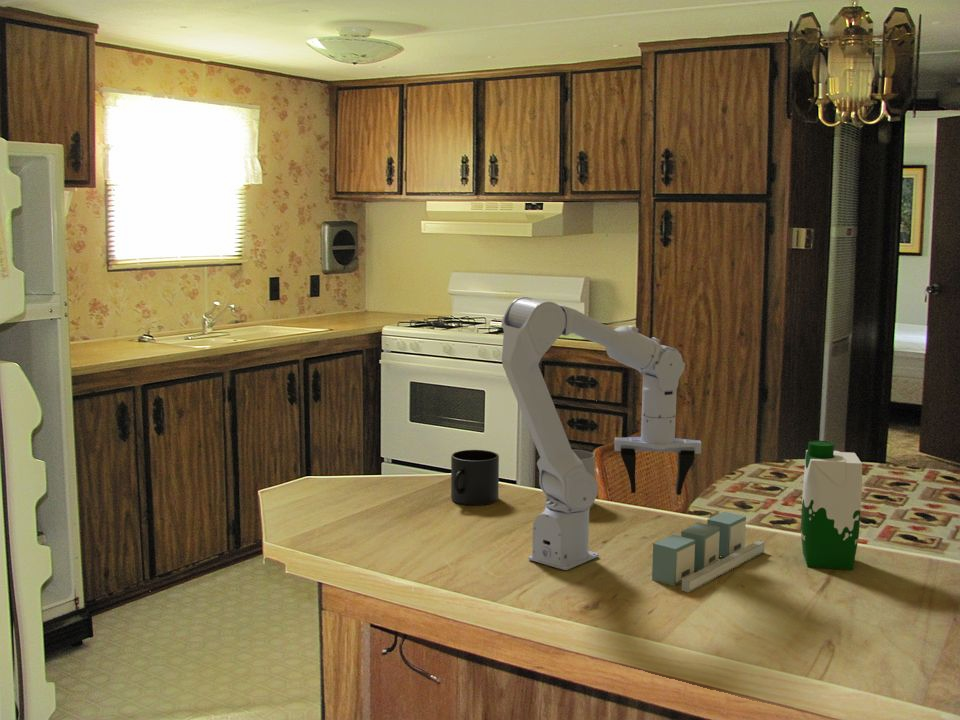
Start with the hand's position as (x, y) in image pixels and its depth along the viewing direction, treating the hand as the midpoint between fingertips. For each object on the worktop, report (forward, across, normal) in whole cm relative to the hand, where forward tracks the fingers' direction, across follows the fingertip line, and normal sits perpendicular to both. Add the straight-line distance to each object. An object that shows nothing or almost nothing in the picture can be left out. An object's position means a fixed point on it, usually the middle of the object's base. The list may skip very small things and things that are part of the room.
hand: (655, 492), depth 177 cm
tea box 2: (+10, +7, -9) cm, 15 cm away
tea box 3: (+10, +12, -2) cm, 15 cm away
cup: (+10, -15, +23) cm, 29 cm away
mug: (+10, -35, +22) cm, 42 cm away
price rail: (+9, +11, -11) cm, 18 cm away
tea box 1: (+10, +2, -16) cm, 18 cm away
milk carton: (+10, +28, -5) cm, 30 cm away
